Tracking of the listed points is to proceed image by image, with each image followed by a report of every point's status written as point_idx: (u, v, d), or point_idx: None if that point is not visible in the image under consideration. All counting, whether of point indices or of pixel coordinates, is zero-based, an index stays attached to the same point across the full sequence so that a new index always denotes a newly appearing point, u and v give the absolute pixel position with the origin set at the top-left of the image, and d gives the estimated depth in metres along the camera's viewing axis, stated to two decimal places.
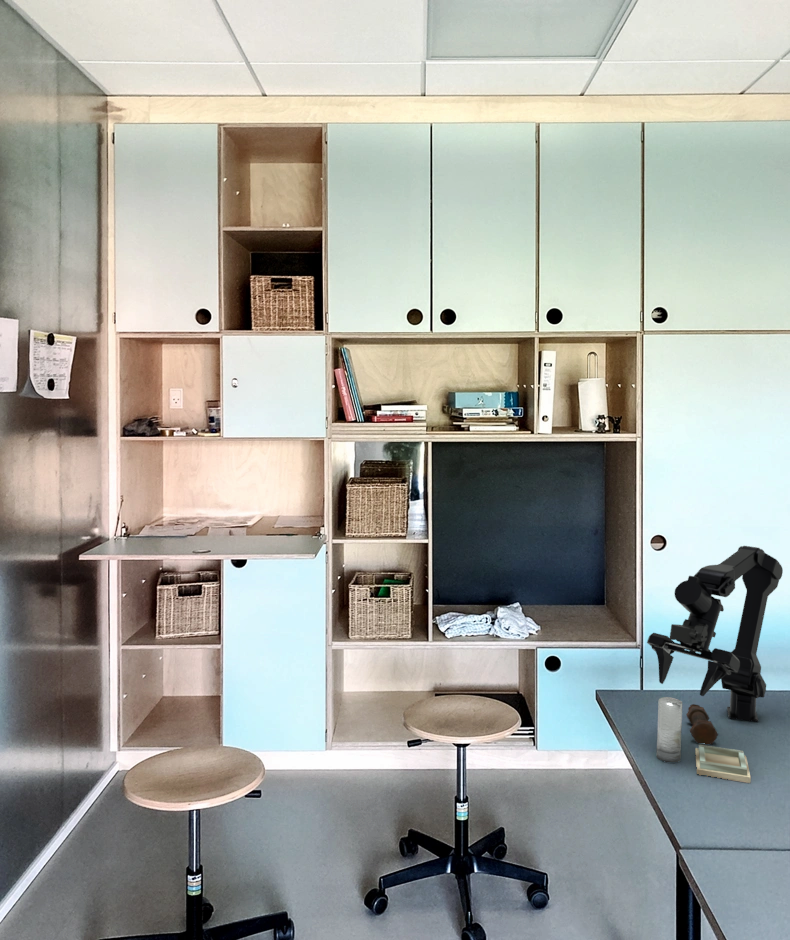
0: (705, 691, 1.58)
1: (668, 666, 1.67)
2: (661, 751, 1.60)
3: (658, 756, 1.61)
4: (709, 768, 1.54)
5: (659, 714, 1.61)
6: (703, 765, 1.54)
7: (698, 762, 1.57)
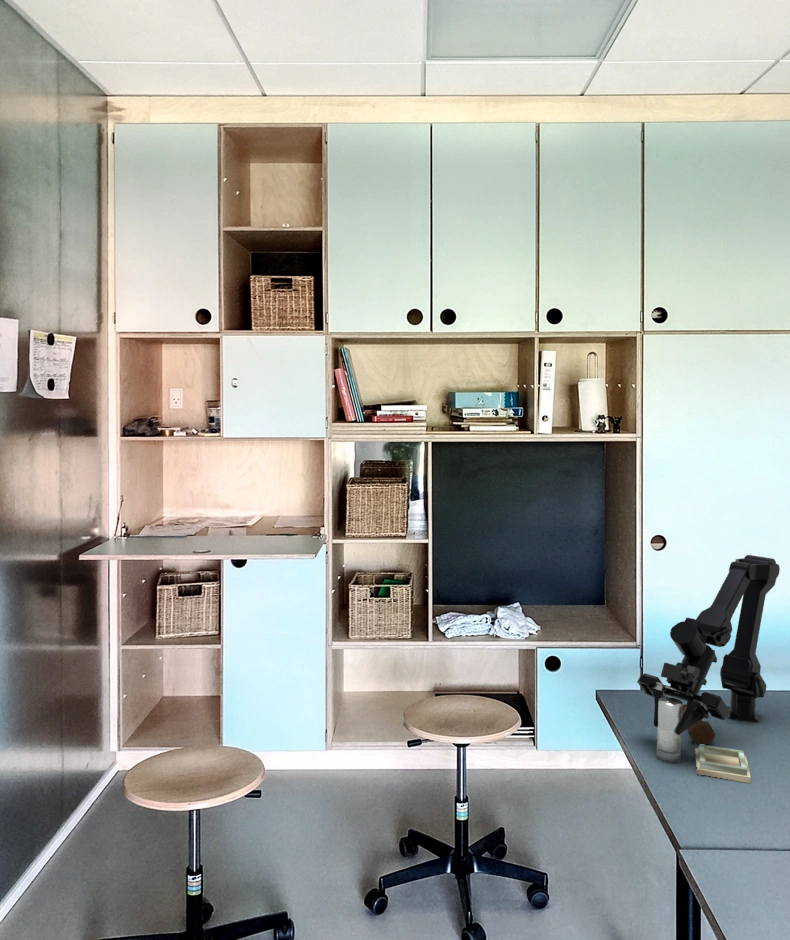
0: (681, 730, 1.59)
1: None
2: (661, 750, 1.60)
3: (658, 756, 1.61)
4: (709, 768, 1.54)
5: (659, 714, 1.61)
6: (703, 765, 1.54)
7: (698, 762, 1.57)
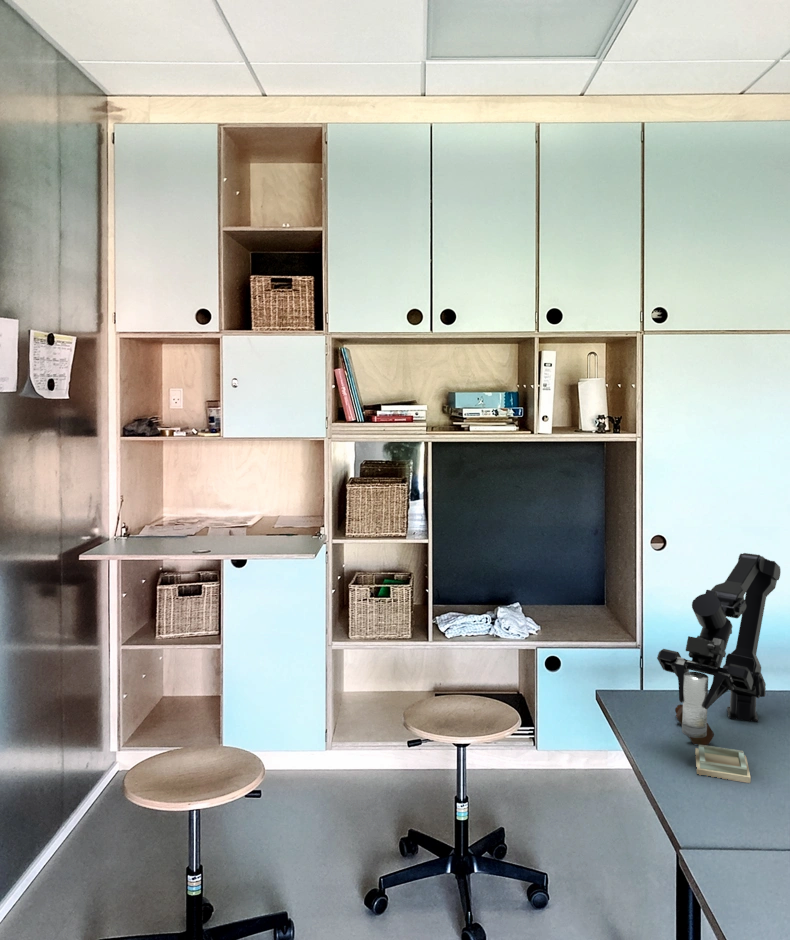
0: (709, 704, 1.56)
1: None
2: (688, 726, 1.57)
3: (685, 732, 1.58)
4: (709, 768, 1.54)
5: (685, 689, 1.58)
6: (703, 765, 1.54)
7: (698, 762, 1.57)
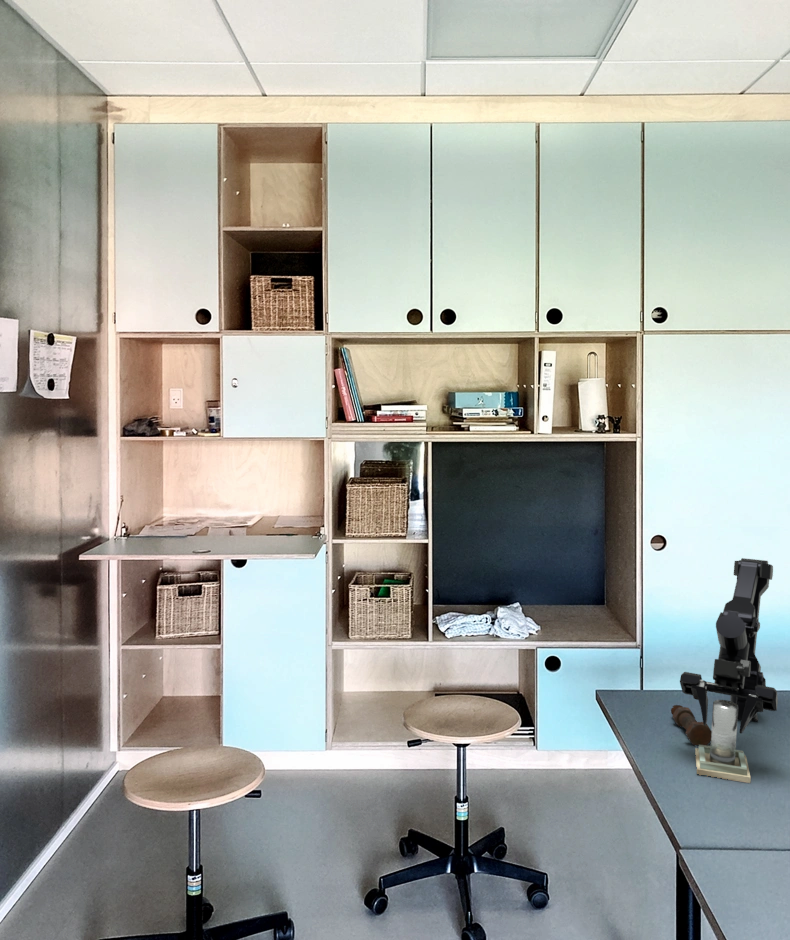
0: (744, 728, 1.54)
1: (707, 708, 1.61)
2: (719, 756, 1.55)
3: (714, 762, 1.56)
4: (709, 768, 1.54)
5: (716, 719, 1.55)
6: (703, 765, 1.54)
7: (698, 762, 1.57)
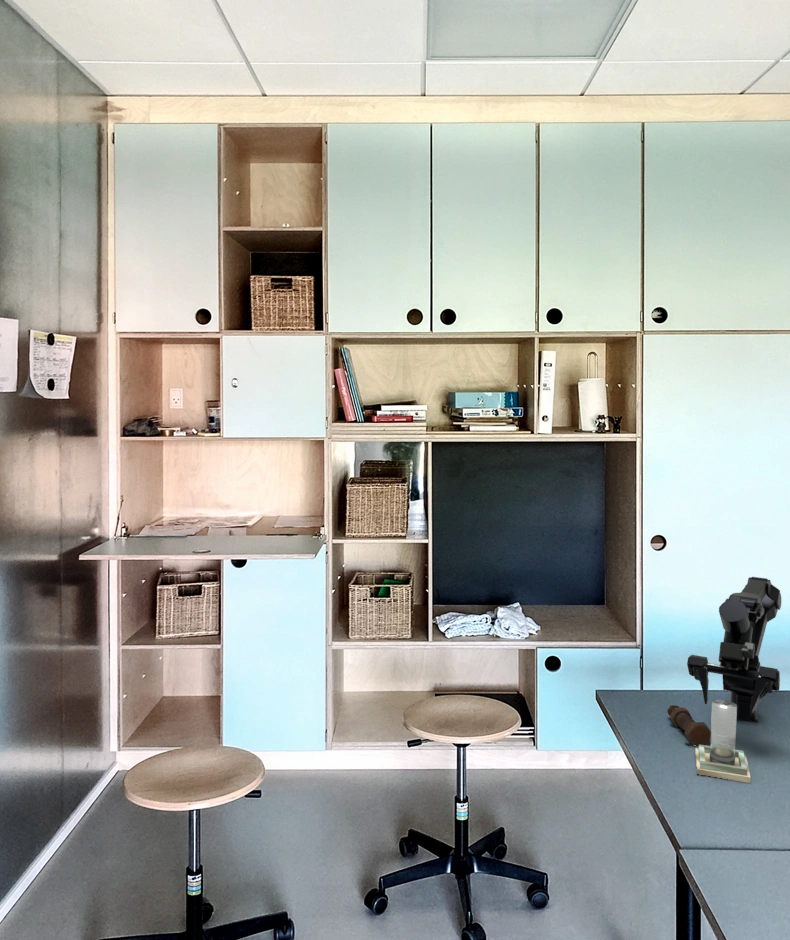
0: (754, 708, 1.62)
1: None
2: (719, 756, 1.55)
3: (714, 762, 1.56)
4: (709, 768, 1.54)
5: (715, 719, 1.56)
6: (703, 765, 1.54)
7: (698, 762, 1.57)
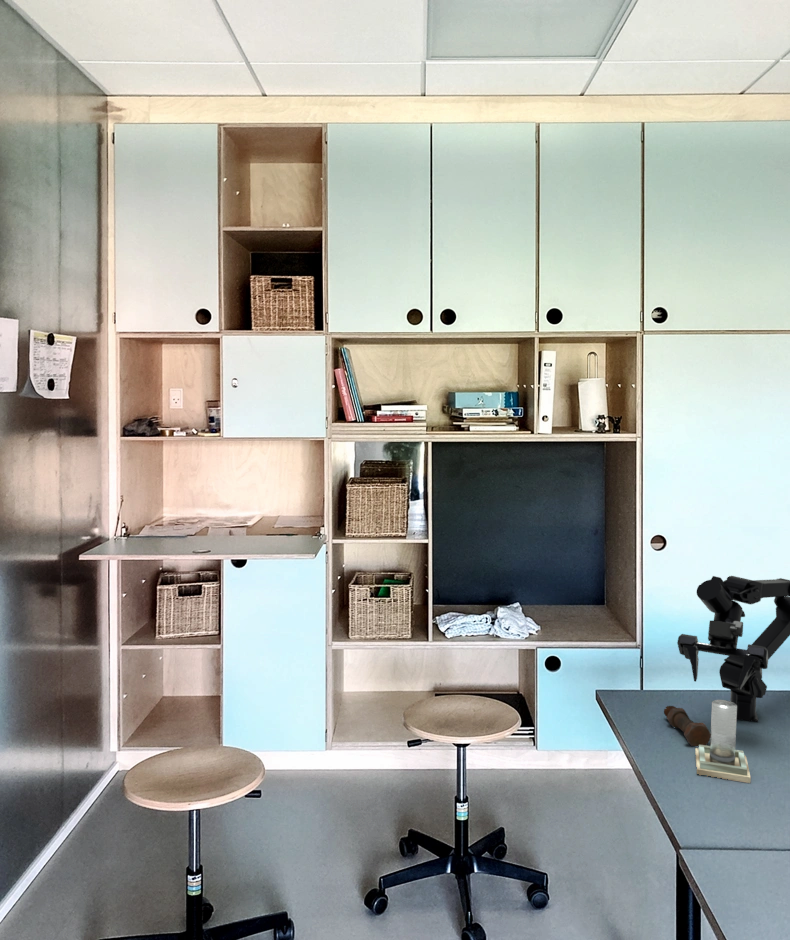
0: (742, 685, 1.65)
1: (697, 666, 1.73)
2: (719, 756, 1.55)
3: (714, 762, 1.56)
4: (709, 768, 1.54)
5: (715, 719, 1.56)
6: (703, 765, 1.54)
7: (698, 762, 1.57)
